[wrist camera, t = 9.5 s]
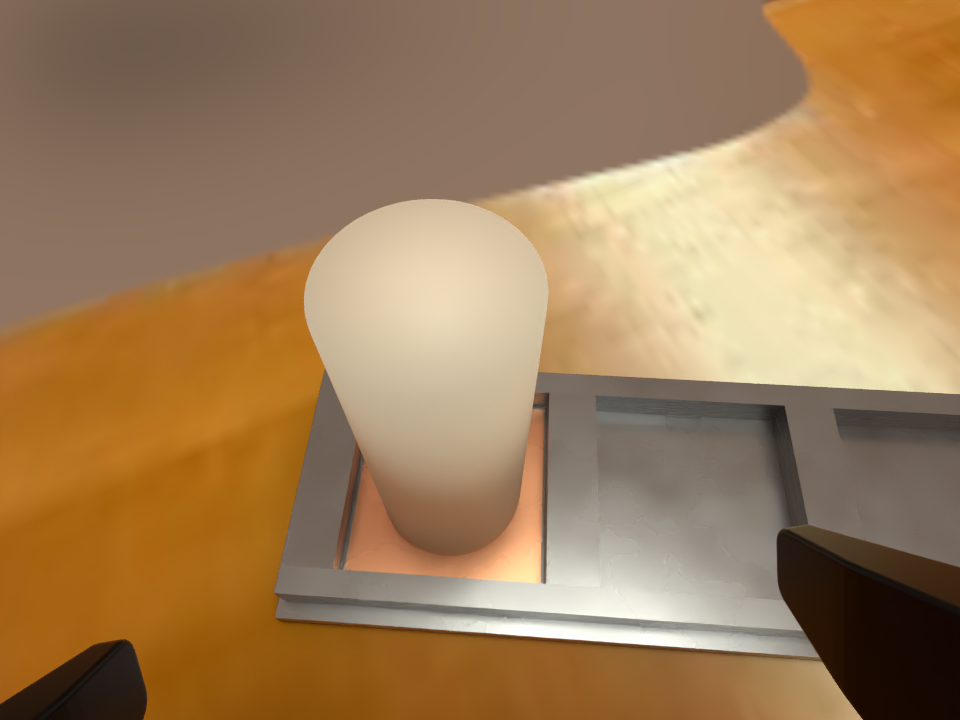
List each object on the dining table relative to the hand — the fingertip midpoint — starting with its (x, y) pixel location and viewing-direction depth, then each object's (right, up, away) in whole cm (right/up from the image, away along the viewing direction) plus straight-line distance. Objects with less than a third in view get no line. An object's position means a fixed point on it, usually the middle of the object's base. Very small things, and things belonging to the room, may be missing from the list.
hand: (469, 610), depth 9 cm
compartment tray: (+7, -2, +13) cm, 15 cm away
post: (-1, -1, +13) cm, 13 cm away
